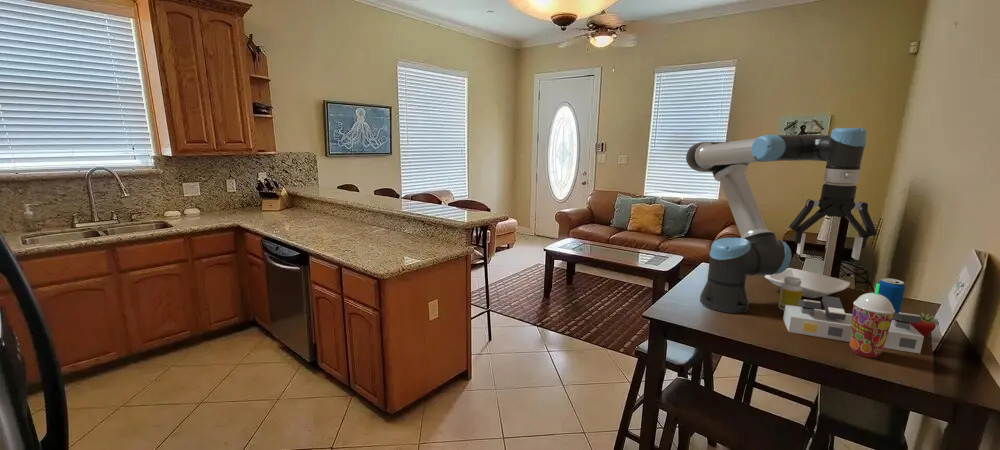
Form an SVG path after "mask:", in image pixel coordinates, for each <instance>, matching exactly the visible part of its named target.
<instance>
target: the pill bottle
mask: <svg viewBox="0 0 1000 450" xmlns="http://www.w3.org/2000/svg"><path fill="white" fill-rule="evenodd" d="M784 282H785V283H783V284H782V285H781V287H780V288H779V289H780V290H779V295H778V296H779V298H778V304H777V307H778V309H780V310H781V311H783V312H784V310H785V305H791V306H798V307H801V306H799V305H798V299H799V300H803V299H802V298H803V296H802V292H803V288H802V287H801V286H800V285H801V279H799V278H795V277H785V279H784Z"/></svg>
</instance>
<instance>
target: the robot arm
mask: <svg viewBox="0 0 1000 450" xmlns="http://www.w3.org/2000/svg"><path fill="white" fill-rule="evenodd" d="M866 139H867V130H866V129H865V128H863V127H835V128H833V129H832V130H831V133H830V134H829V135H828V134H826V135H825V134H790V135H789V134H786V135H785V134H781V135H780V134H766V135H760V136H758V137H755V138H749V139H740V140H735V141H731V140H728V141H700V142H697V143H694V144H692V145H691V146H690V147H689V149H688V150H687V153H686V157H685V160H686V163H687V165H688V167H689V168H691V169H692V170H693V171H696V172H700V173H712V175H713V178H714V180H715V181H717V182H720V184H721V187H722V190H723V193H724V195H725V197H726V200H727V202H728V205H729V208H730V211H731V213H732V216H733V219H734V222H735V225H736V227H737V230H738V232H739V235H740V237H723V238H717V239H716V240H714V241H713V242H712V243H711V247H710V251H709V263H708V270H707V271H708V272H707V273H708V274H707V281H706V283H705V285H704V287H703V289H702V290H701V293H700V294H699V295H700V296H699V302H701V303H702V304H703V305H702V304H701V305H702V306H704V305H705V306H704V307H706V306H707V307H706V308H708V307H709V308H708V309H710V308H711V310H713V309H714V311H716V310H718V311H717V312H721V311H722V313H729V314H741V313H745V312H747V311H748V310H749V306H750V305H749V304H750V303H749V299H748V294H747V289H746V281H747V277H751V276H752V277H753V276H766V275H773V274H778V273H782V272H784V271H785V270H786V269H787V268H789V266H790V263H791V262H792V249H791V248H790V246H789V245H788V244H787V242H784V240H783V241H782V240H779V239H778V238H777V236H776V234H775V232H774V231H772V230H770V229H768V227H767V225H766V222H765V221H764V218H763V214H762V213H761V210H760V207H759V205H758V203H757V200H756V197H755V194H754V193H753V191H752V190H753V189H752V188H751V185H750V184H749V181H748V178H747V175H746V172H747V170H748V166H749V163H750V164H751V163H764V162H765V163H766V162H785V161H788V162H789V161H793V162H795V161H796V162H797V161H802V162H803V161H812V162H813V161H815V162H816V161H817V162H826V165H825V170H824V171H825V172H824V176H823V183H824V184H822V187H821V194H820V198H819V200H813V199H810V198H808V199H807V200H806V201H805V204H804V207H803V208H802V209H801V211H800V212H799V213H798V215H796V217H795V218H794V220H793V221H792V222H791V223H790V224H789V226H788V228H789V229H790V230H791V231H793V232H795V235H794V243H796V244H797V247H796V251H795V252H796V254H797V255H798V256H803V255H804V247H805V241H806V236H807V234H806V233H805V231H807V230H808V229H809V228H810V227H812V226H813V225H814V224H815V223H817V222H818V221H820V220H821V219H822V218H824V217H833V218H834V217H837V218H843V217H844V218H845V219H846V220H847V221H848V222H849V224H850V225H851V227H853V228H854V230H855V231H856V232H857V235H855V237H854V242H853V246H852V251H851V258H853V259H854V260H857V261H859V260H860V256H861V252H862V251H861V250H862V249H865V248H866V244H867V241H868V239H869V238H870V237H872V236H873V237H876V236H877V234H878V232H877V231H876V227H875V226H874V225H875V224H874V223H873V221H872V218H871V216H870V213H869V210H868V209H869V208H868V207H869V204H868V203H867V202H864V201H863V200H862V201H861V200H860V201H859V202H855V197H856V193H857V184H858V182H859V177H860V172H861V164H862V160H863V155H864V151H865V147H866V141H867V140H866ZM816 206H817V207H819V209H817V210H816V212H814V214H812V215H810V217H809V218H808V219H806V218H807V217H808V216H809V214H810V213H811V212H812V210H813V209H814V208H816ZM853 209H856V210H858V213H859V216H860V218H861V220H862V223H863V225H864V227H865V229H864V227H863V226H862V225H861V224H860V222H859V221H858V219H856V218H855V215H854V214H853V213H852V212H851V211H852V210H853ZM804 220H805V221H804ZM858 234H859V235H858Z"/></svg>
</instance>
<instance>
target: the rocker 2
mask: <svg viewBox="0 0 1000 450" xmlns="http://www.w3.org/2000/svg"><path fill="white" fill-rule="evenodd" d="M821 302H822V304H823V308H824V309H823V310H825V312H826V315H827V318H833V319H839V320H845V317H846V314H845V313H846V312H845V309H844V307H843V303H842V302H841V298H840V297H836V296H829V295H827V296H822V298H821Z"/></svg>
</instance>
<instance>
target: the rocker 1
mask: <svg viewBox="0 0 1000 450" xmlns="http://www.w3.org/2000/svg"><path fill="white" fill-rule="evenodd" d="M798 305H799V306H800V307H806V308H813V309H819V310H822V303H821V301H820V300H818V301H817V300H811V299H801V300H799V299H798Z"/></svg>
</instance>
